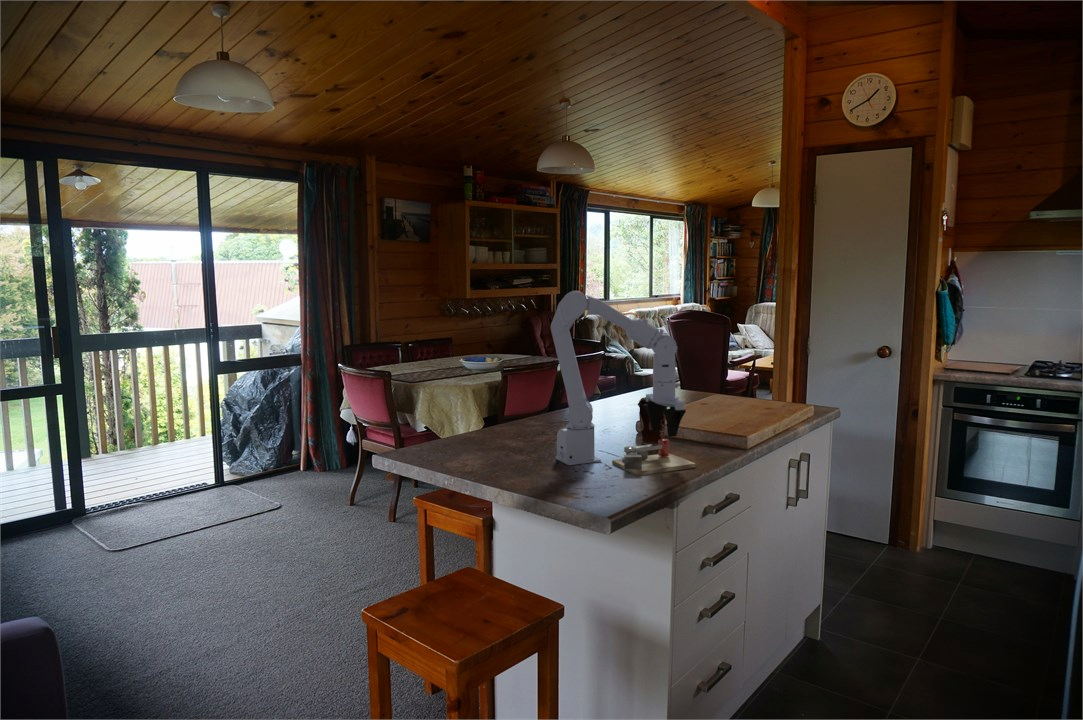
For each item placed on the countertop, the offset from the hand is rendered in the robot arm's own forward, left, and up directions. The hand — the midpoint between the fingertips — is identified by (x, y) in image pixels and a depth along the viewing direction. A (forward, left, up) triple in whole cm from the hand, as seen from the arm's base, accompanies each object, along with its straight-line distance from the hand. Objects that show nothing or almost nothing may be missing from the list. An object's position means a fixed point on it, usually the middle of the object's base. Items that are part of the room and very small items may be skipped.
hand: (664, 433), depth 182 cm
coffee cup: (+8, +18, -8) cm, 21 cm away
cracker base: (-6, -3, -7) cm, 10 cm away
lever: (-5, 0, -6) cm, 8 cm away
